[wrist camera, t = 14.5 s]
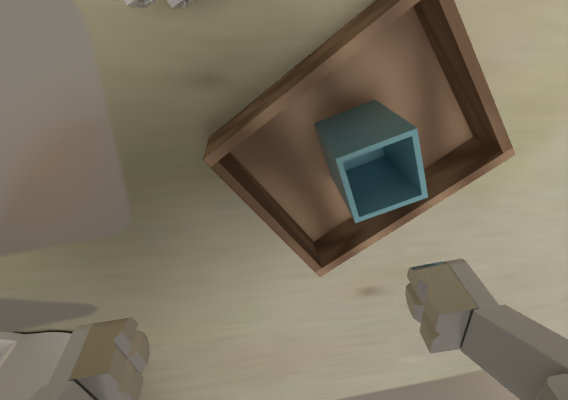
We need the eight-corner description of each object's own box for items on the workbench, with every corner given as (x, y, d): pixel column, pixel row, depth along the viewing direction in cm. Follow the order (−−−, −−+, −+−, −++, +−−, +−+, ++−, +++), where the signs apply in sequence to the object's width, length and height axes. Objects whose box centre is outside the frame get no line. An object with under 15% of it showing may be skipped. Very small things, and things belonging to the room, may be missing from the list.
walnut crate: (310, 245, 37) (319, 277, 32) (208, 137, 29) (202, 159, 25) (478, 135, 32) (515, 154, 28) (406, -25, 25) (440, -33, 20)
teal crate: (331, 176, 32) (355, 223, 25) (313, 123, 29) (335, 159, 22) (387, 155, 31) (428, 197, 24) (375, 99, 28) (417, 128, 21)
